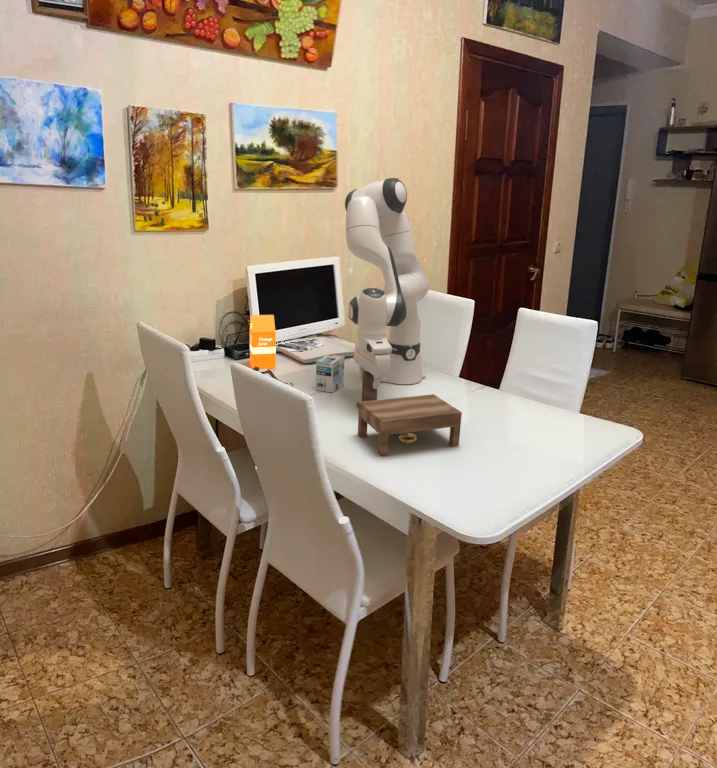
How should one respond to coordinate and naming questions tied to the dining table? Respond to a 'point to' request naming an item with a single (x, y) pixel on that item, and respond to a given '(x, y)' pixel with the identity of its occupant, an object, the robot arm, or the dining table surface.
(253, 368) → the hacksaw
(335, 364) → the light bulb box
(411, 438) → the token
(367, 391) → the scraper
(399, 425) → the wooden footstool
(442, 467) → the dining table surface
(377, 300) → the robot arm
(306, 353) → the square plate
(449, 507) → the dining table surface
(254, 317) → the orange juice
